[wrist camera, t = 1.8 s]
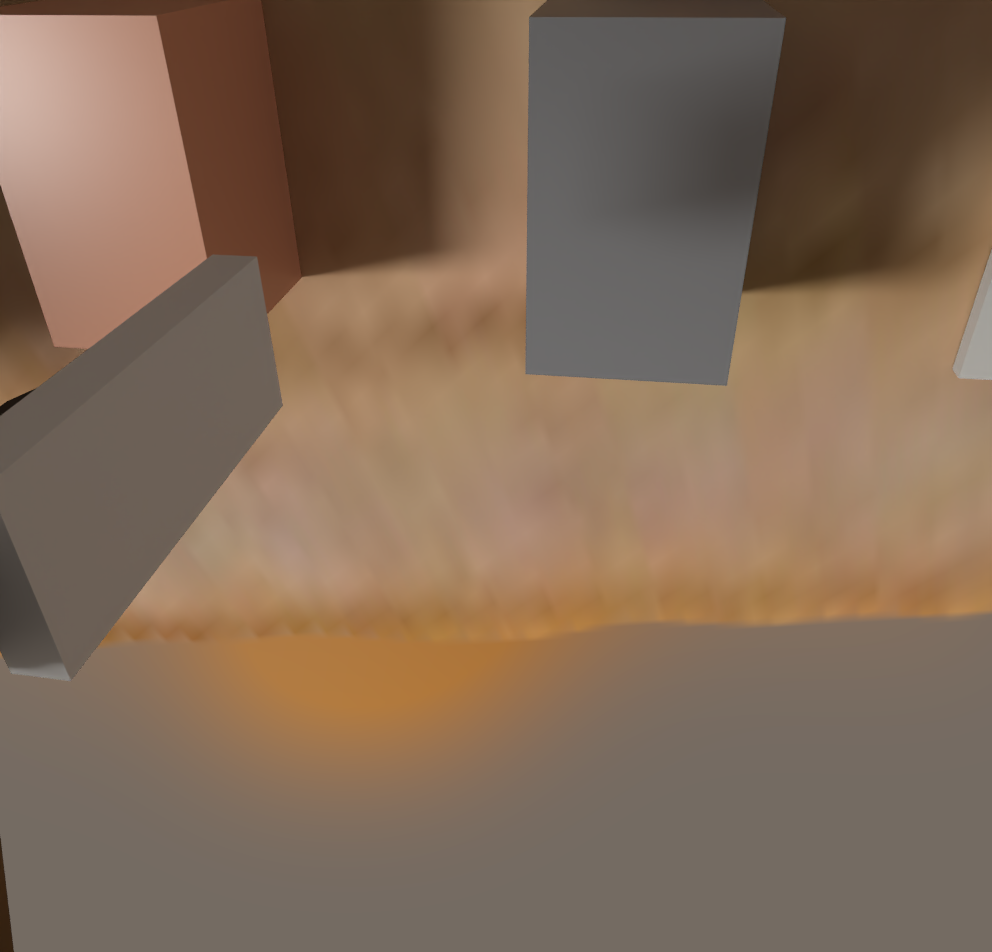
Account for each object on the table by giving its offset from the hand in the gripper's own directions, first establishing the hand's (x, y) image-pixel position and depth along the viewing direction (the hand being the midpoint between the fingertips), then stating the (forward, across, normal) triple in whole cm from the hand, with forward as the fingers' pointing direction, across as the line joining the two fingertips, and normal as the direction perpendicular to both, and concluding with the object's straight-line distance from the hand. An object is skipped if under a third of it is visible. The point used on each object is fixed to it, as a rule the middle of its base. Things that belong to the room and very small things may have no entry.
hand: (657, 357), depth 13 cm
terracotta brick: (+12, -14, 0) cm, 18 cm away
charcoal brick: (+13, 0, 0) cm, 13 cm away
